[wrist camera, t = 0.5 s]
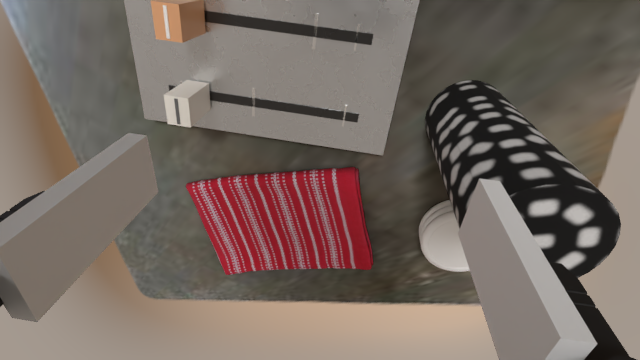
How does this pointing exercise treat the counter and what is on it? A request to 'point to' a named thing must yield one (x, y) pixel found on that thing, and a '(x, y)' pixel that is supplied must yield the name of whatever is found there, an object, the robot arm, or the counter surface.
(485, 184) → the robot arm
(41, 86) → the counter surface
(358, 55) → the console
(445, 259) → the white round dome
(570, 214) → the white-spotted black cylinder
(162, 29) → the fader terracotta
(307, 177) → the dish towel
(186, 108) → the fader cream
